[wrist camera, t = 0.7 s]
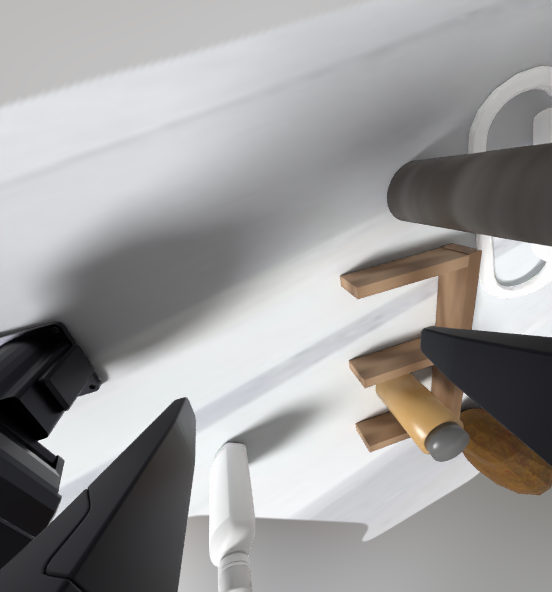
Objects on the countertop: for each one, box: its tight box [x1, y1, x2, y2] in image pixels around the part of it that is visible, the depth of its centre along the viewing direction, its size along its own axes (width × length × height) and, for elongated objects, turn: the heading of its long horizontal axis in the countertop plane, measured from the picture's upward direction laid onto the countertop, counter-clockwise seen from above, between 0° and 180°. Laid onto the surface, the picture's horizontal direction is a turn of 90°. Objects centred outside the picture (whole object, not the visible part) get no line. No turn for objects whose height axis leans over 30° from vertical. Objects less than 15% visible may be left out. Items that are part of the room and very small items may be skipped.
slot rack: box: [340, 243, 482, 452], centre depth 26 cm, size 11×20×3 cm, turn 11°
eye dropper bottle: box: [209, 443, 255, 592], centre depth 23 cm, size 4×6×12 cm
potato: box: [460, 408, 552, 495], centre depth 32 cm, size 8×12×9 cm
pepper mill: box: [387, 143, 552, 247], centre depth 14 cm, size 5×5×16 cm
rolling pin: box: [468, 66, 552, 299], centre depth 23 cm, size 20×8×4 cm, turn 25°
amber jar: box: [376, 373, 469, 462], centre depth 26 cm, size 4×4×8 cm
